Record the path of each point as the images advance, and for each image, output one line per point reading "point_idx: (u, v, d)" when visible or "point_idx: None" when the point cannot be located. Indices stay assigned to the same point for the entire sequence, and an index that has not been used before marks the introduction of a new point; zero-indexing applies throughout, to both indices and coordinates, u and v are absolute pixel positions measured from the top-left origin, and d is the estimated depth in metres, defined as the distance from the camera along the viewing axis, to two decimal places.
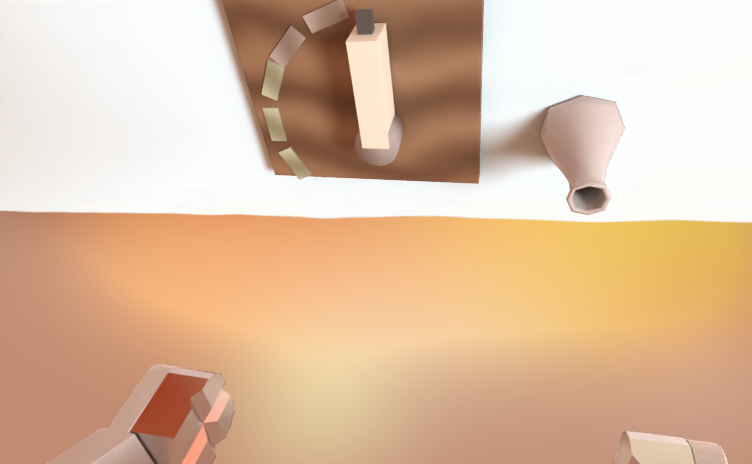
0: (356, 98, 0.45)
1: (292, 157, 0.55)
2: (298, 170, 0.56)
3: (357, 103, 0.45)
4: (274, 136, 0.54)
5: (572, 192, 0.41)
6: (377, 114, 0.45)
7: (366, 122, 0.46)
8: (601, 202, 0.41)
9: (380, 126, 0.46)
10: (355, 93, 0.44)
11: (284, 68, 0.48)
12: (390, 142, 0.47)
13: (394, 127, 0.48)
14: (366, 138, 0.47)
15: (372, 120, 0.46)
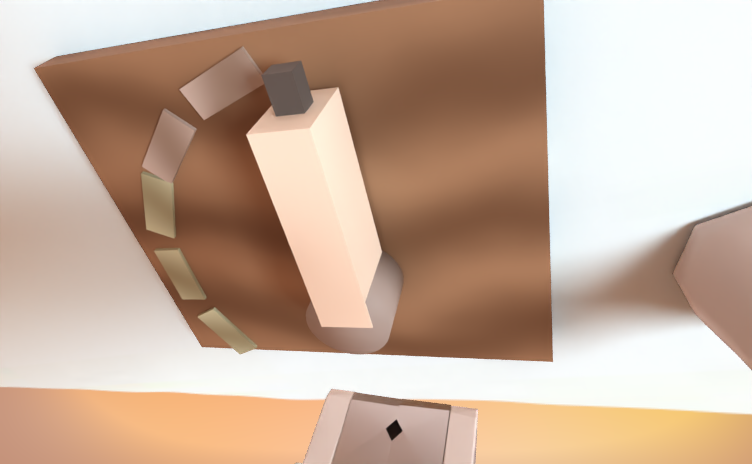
0: (292, 242, 0.22)
1: (221, 322, 0.32)
2: (235, 341, 0.33)
3: (295, 251, 0.22)
4: (184, 293, 0.31)
5: None
6: (338, 270, 0.22)
7: (319, 283, 0.23)
8: None
9: (348, 290, 0.23)
10: (288, 233, 0.21)
11: (173, 185, 0.26)
12: (373, 316, 0.23)
13: (381, 282, 0.24)
14: (325, 310, 0.24)
15: (331, 280, 0.22)
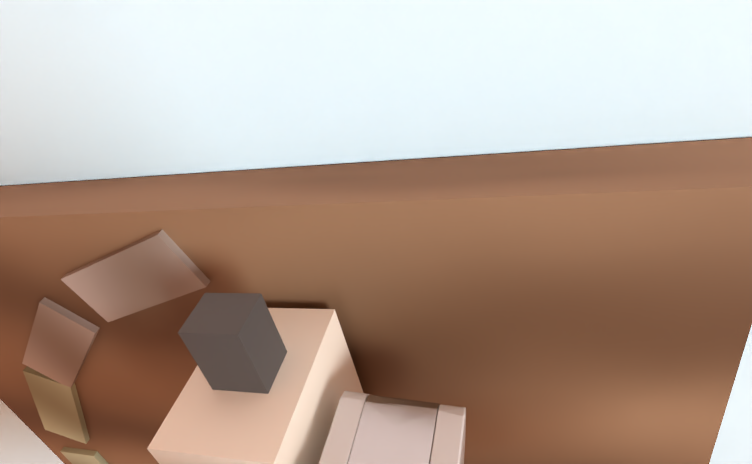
0: None
1: None
2: None
3: None
4: None
5: None
6: None
7: None
8: None
9: None
10: None
11: (75, 387, 0.17)
12: None
13: None
14: None
15: None
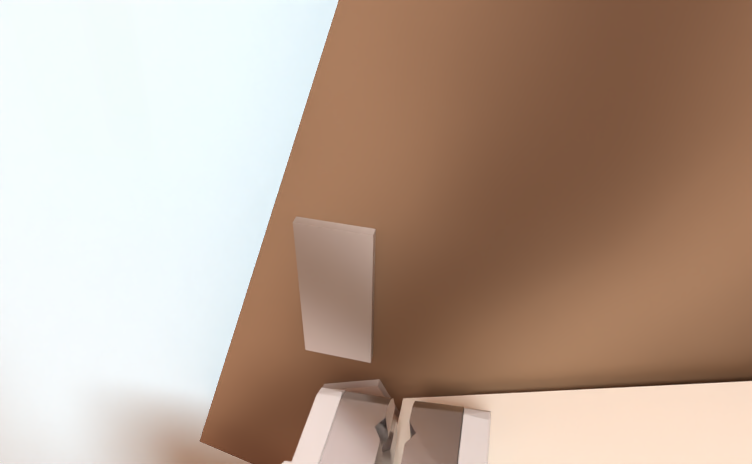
0: None
1: None
2: None
3: None
4: None
5: None
6: None
7: None
8: None
9: None
10: None
11: None
12: None
13: None
14: None
15: None
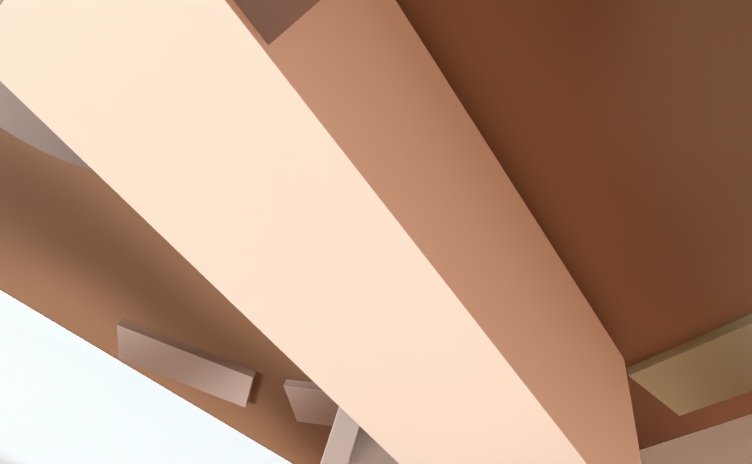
0: (470, 335, 0.06)
1: None
2: None
3: (445, 306, 0.05)
4: None
5: None
6: (270, 282, 0.06)
7: (295, 196, 0.05)
8: None
9: (187, 213, 0.05)
10: (493, 362, 0.06)
11: None
12: (25, 112, 0.05)
13: None
14: (179, 31, 0.04)
15: (266, 231, 0.05)
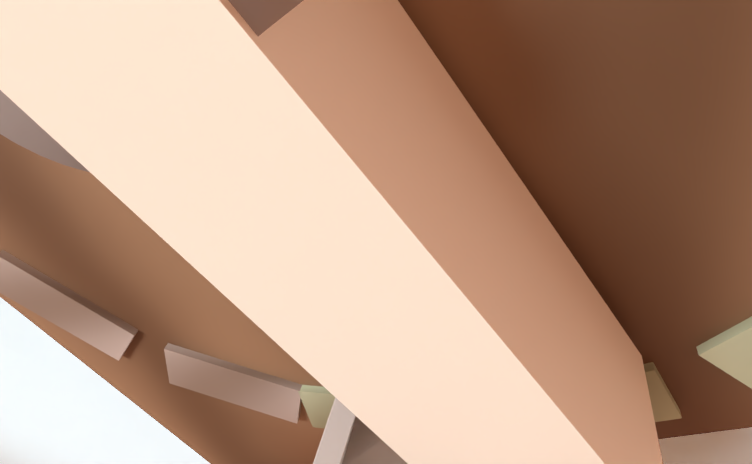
0: (477, 331, 0.05)
1: None
2: None
3: (450, 301, 0.05)
4: None
5: None
6: (272, 282, 0.06)
7: (293, 191, 0.05)
8: None
9: (184, 213, 0.05)
10: (502, 358, 0.06)
11: (309, 386, 0.14)
12: (20, 116, 0.05)
13: None
14: (167, 25, 0.04)
15: (265, 229, 0.05)
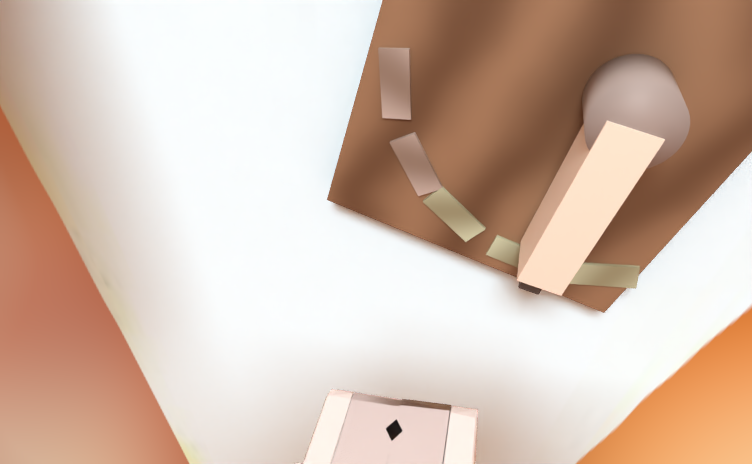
0: (602, 227, 0.25)
1: (588, 270, 0.31)
2: (618, 278, 0.31)
3: (607, 220, 0.25)
4: None
5: None
6: (584, 191, 0.24)
7: (615, 186, 0.24)
8: None
9: (593, 170, 0.24)
10: (598, 235, 0.26)
11: (445, 189, 0.31)
12: (595, 132, 0.23)
13: None
14: (639, 157, 0.23)
15: (600, 185, 0.24)
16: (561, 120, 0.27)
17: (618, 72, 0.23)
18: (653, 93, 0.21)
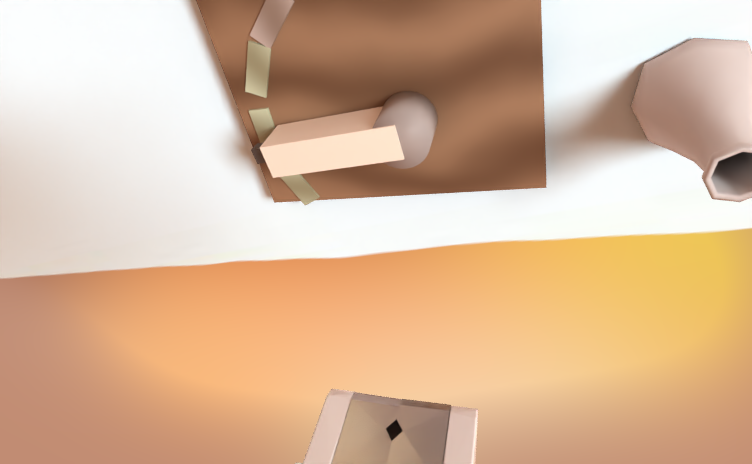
0: (334, 167, 0.36)
1: (293, 175, 0.42)
2: (302, 193, 0.43)
3: (340, 166, 0.36)
4: None
5: (713, 165, 0.26)
6: (347, 143, 0.35)
7: (362, 155, 0.35)
8: None
9: (362, 138, 0.34)
10: (328, 168, 0.37)
11: (270, 50, 0.36)
12: (384, 124, 0.34)
13: (380, 112, 0.35)
14: (386, 154, 0.35)
15: (357, 148, 0.35)
16: (371, 92, 0.37)
17: (421, 107, 0.34)
18: (423, 136, 0.34)
